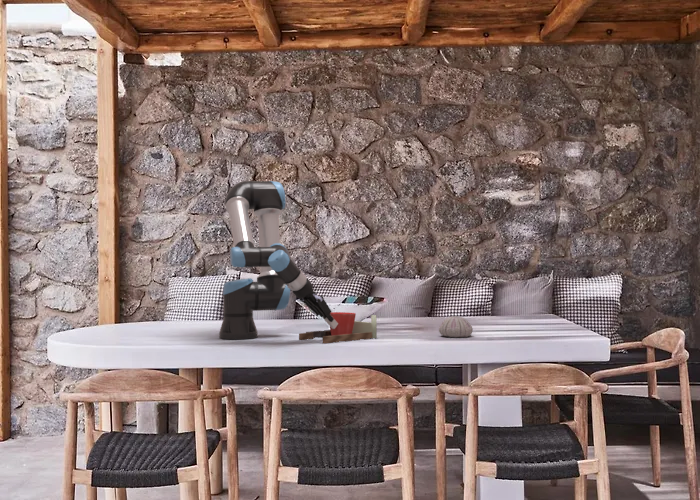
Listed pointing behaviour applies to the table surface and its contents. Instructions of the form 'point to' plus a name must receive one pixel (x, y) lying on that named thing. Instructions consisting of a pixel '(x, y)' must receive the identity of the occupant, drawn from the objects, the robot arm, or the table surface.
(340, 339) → the walnut trap lane
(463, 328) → the sea urchin shell
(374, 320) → the sage end wall
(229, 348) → the table surface
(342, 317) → the flower pot
